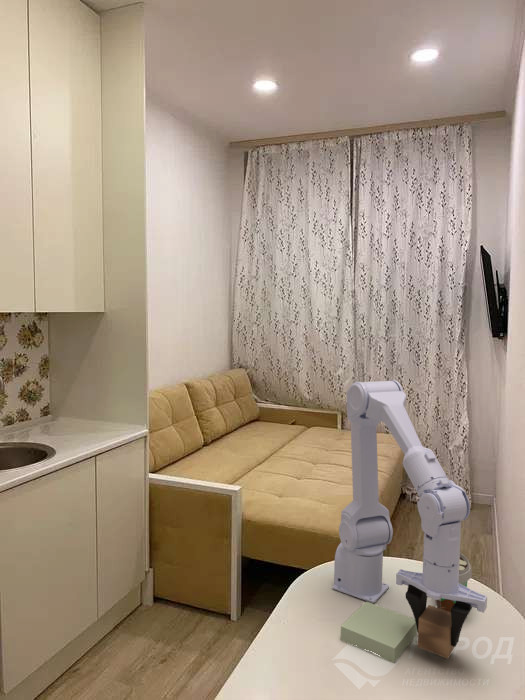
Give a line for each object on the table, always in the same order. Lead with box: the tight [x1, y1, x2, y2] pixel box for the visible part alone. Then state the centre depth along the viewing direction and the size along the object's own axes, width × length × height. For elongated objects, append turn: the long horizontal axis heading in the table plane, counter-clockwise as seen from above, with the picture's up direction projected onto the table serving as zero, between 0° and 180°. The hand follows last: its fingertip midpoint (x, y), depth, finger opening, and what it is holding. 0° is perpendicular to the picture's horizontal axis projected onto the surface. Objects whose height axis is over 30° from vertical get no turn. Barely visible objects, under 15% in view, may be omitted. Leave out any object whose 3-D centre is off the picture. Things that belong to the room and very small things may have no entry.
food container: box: [434, 552, 473, 612], centre depth 103 cm, size 12×6×10 cm, turn 168°
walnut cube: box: [417, 604, 455, 659], centre depth 89 cm, size 5×5×5 cm
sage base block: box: [340, 601, 418, 664], centre depth 94 cm, size 10×10×3 cm
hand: (437, 636), depth 89 cm, fingers closed on walnut cube, 5 cm apart
